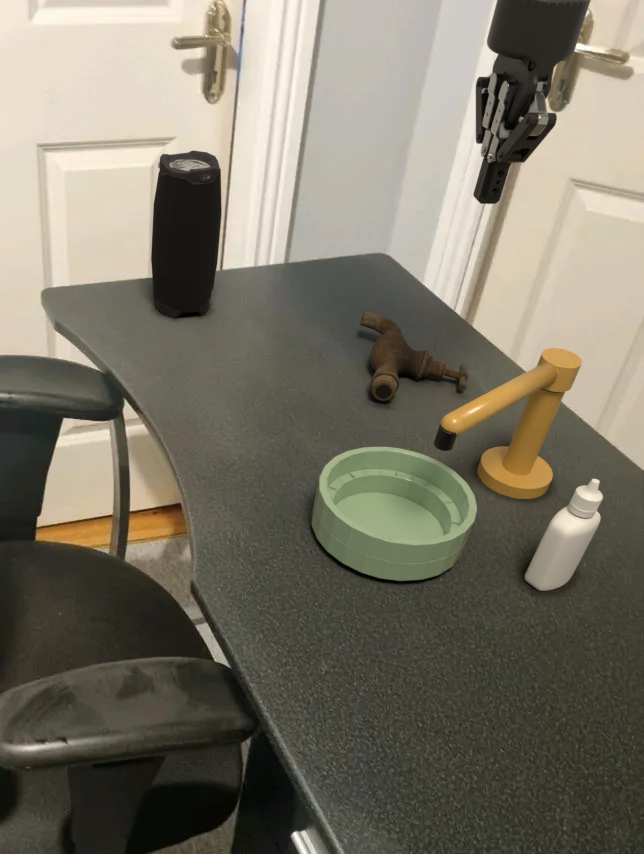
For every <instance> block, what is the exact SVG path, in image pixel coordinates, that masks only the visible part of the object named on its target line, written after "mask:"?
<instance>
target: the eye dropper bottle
mask: <svg viewBox="0 0 644 854" xmlns="http://www.w3.org/2000/svg"><path fill="white" fill-rule="evenodd" d="M600 483H601V482H600V480H599V479H597V478H592V479H591V480H590V481H589V482H588V484H587V485H585V484H584V485H579V486H578V487H576V488H575V490H574V492H573V495H572V497H571V499H570V500H569V503H568V505H566V506H564V507H563V508H561V509H560V510H559V511H558V512H556V514H554V516H553V517H552V519H551V520H550V522H549V524H548V525H547V527H546V529H545V532H544V533H543V535H542V538H541V539H540V542H539V544H538V546H537V548H536V550H535V552H534V554H533V556H532V559H531V561H530V563H529V565H528V567H527V569H526V571H525V574H524V576H523V577H524V578H523V579H524V580H525V582H527V583H528V584H529V585H530V586H532V587H533V588H535V589H536V590H538V591H540V592H547V591H552V590H556V589H559V588H561V587H563V586H564V585H566V584H567V583H568V582H569V581H570V580H571V578H572V577H573V575H574V573H575V571H577V570H576V569H577V568H578V566H579V565H580V562H581V560H582V558H583V556H584V554H585V552H586V550H587V549H588V546H589V545H590V543H591V541H592V539H593V537H594V535H595V534H596V532H597V530H598V527H599V525H600V523H601V519H602V516H601V515H600V513H599V511H598V508H599V507H600V505H601V503H602V501H603V499H604V494H603V493H602V492H601V491H600V490H599V486H600Z"/></svg>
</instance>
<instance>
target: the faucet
mask: <svg viewBox="0 0 644 854" xmlns="http://www.w3.org/2000/svg"><path fill="white" fill-rule="evenodd" d="M359 325H360V326H362V327H365V328H368V329H370V330H372V331H375V332H376V333H378V334H380V335H381V336H379V337H378V338H377V339H376V340H375V342H374V343H373V345H372V348H371V351H370V364H371V367H372V369H373V370H374V373H373V376H372V377H371V379H370V384H369V385H370V390H371V394H372V396H373V397H374V399H376V400H378V401H381V402H385V401H389V400H391V399H392V398H394V396H395V395H396V393H397V391H398V390H399V388H400V380H399V379H400V378H399V375H402V374H403V375H404V374H408V375H410V376H411V377H412V378H414V380H416V381H417V380H420V379H421V378H422V377H423V378H427V376H430V377H434V378H439V379H441V380H442V379H443V378H444V377H448V378H451V379H455V380H456V381H457V382H458V387H457V388H458V390H459V391H461V392H464V391H465V390H466V389H467V381H468V379H469V375H468V372H467V370H468V365H467V364H465V363H461V364H460V365H459V371H456V370H453V369H449V368H448V365H447V364H446V363H443V362H440V361H435V360H433V359H434V357H433V356H432V355H430V351H429V350H427V349H425V350H415V349H413V348H412V347H411V346H410V345H409V344H408V342H407V341H406V339H405V337H404V336H403V334H402V330H401V328H400V327H399V325H398V324H397V323H396V322H395V321H394V320H393V319H392V318H388V317H386V316H383V315H379V314H377V313H375V312H371V311H368V310H364V311H363V314H362V316H361V320H360V323H359Z"/></svg>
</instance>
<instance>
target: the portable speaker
mask: <svg viewBox="0 0 644 854" xmlns="http://www.w3.org/2000/svg"><path fill="white" fill-rule="evenodd" d="M157 165H158V169H159V170H158V175H157V180H156V187H155V193H154V199H153V208H152V210H153V211H152V231H151V249H150V250H151V251H150V252H151V255H150V264H151V279H152V291H153V299H154V305H155V309H156V310H157V311H158V312H159V313H160V314H161V315H163V316H167V317H169V318H172V319H176V318H178V317H179V316H180V315H183V314H191V313H192V314H193V313H197V314H198V315H200V316H205V315H206V314H207V312H208V311H209V309H210V300H211V297H212V292H213V291H214V287H215V279H216V273H217V268H218V260H219V250H220V238H221V237H220V236H221V225H222V214H223V213H222V211H223V210H222V207H223V206H222V169H221V167H220V163H219V160H218V158H217V157H216V155H213V154H212V153H209V152H207V151H199V150H195V149H194V150H190V151H189V152H180V153H173V154H172V153H171V154H169V153H162V154H160V156H159V161H158V164H157Z"/></svg>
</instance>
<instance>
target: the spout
mask: <svg viewBox="0 0 644 854" xmlns="http://www.w3.org/2000/svg"><path fill="white" fill-rule="evenodd" d="M582 360H583V359H582V358H581V357H580V356H579V355H578V354H576V353H575V352H572V351H570V350H568V349H564V348H558V347H550V348H546V349H544V350H543V351H542V352H541V354H540V357H539V359H538V362H537V364H536V366H534V367H533V368H531V369H530V370H528V371H525V372H523V373H522V374H519V375H518V376H516V377H514V378H512V379H510V380H509V381H506V382H504V383H503V384H501V385H499V386H498V387H496V388H494V389H492V390H490V391H488V392H486V393H485V394H483V395H480V396H478V397H477V398H475V399H473V400H471V401H469V402H467V403H466V404H464V405H462V406H460V407H457V408H456V409H454V410H452V411H450V412H449V413H446V414H445V415H444V416H443V417H442V419H441V421H440V424H438V425H439V426H438V429H437V432H436V435H435V438H434V441H433V446H434V448H435V449H437V450H439V451H443V452H449V451H452V450H453V449H454V447H455V443H456V440H457V437H458V436H460V435H463V434H464V433H466V432H468V431H470V430H471V429H472V428H474V427H476V426H478V425H480V424H481V423H483V422H485V421H487V420H489V419H491V418H492V417H494V416H496V415H497V414H500V413H501V412H503V411H505V410H506V409H509V408H510V407H512V406H514V405H515V404H517V403H520V402H521V401H523V400H525V399H526V398H529V396H530V395H532V394H533V393H535V392H537V391H539V390H540V389H542V388H543V389H546V390H549V391H553V392H565V393H566V392H568V391H571V389H572V388H573V385H574V383H575V380H576V378H577V376H578V373H579V372H580V369H581V367H582V364H583V361H582Z"/></svg>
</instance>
